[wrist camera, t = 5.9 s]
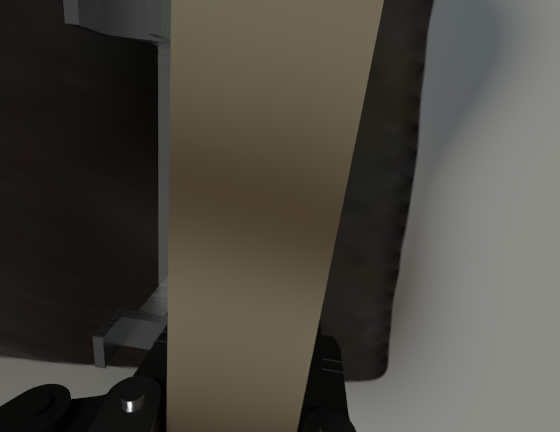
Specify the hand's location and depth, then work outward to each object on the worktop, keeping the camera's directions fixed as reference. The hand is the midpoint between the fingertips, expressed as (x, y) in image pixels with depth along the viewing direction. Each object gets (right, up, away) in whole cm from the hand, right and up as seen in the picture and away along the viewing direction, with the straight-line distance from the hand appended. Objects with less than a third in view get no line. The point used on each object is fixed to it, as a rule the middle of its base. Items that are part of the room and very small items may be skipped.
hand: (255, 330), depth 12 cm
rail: (0, 0, -1) cm, 1 cm away
